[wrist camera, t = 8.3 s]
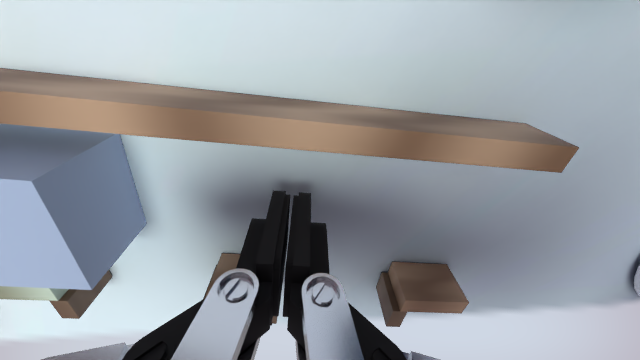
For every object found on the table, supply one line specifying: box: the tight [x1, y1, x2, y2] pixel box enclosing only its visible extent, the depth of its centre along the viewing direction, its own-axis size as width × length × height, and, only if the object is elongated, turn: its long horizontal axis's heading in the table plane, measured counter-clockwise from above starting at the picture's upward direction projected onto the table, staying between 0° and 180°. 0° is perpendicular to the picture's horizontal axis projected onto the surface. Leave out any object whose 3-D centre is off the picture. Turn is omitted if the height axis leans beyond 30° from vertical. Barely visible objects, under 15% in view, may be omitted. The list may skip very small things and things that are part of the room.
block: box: [0, 124, 147, 290], centre depth 10 cm, size 6×5×4 cm
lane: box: [0, 68, 579, 327], centre depth 11 cm, size 24×12×4 cm, turn 84°
